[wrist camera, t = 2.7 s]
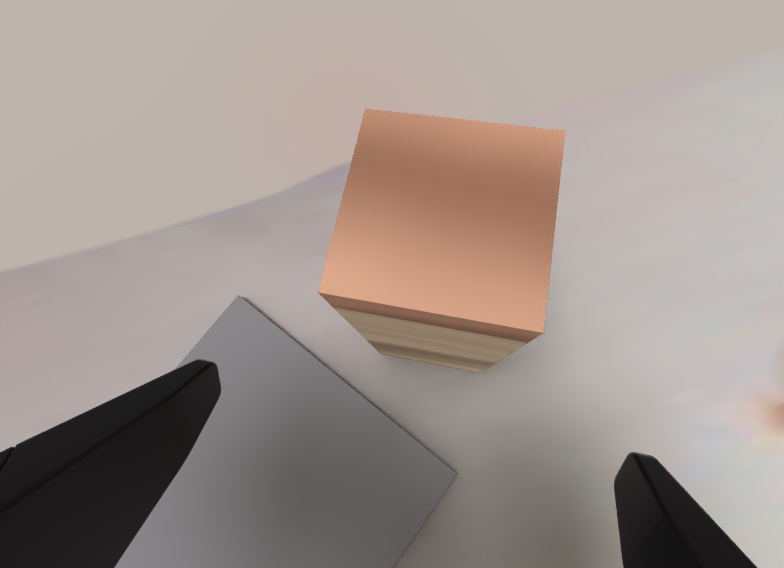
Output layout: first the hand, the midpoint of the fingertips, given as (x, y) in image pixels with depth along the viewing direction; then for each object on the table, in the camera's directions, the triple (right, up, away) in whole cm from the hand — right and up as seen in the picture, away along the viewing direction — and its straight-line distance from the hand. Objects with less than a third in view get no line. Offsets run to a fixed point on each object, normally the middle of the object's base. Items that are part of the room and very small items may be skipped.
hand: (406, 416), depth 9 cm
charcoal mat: (-7, -7, +11) cm, 15 cm away
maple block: (+2, +1, +12) cm, 12 cm away
